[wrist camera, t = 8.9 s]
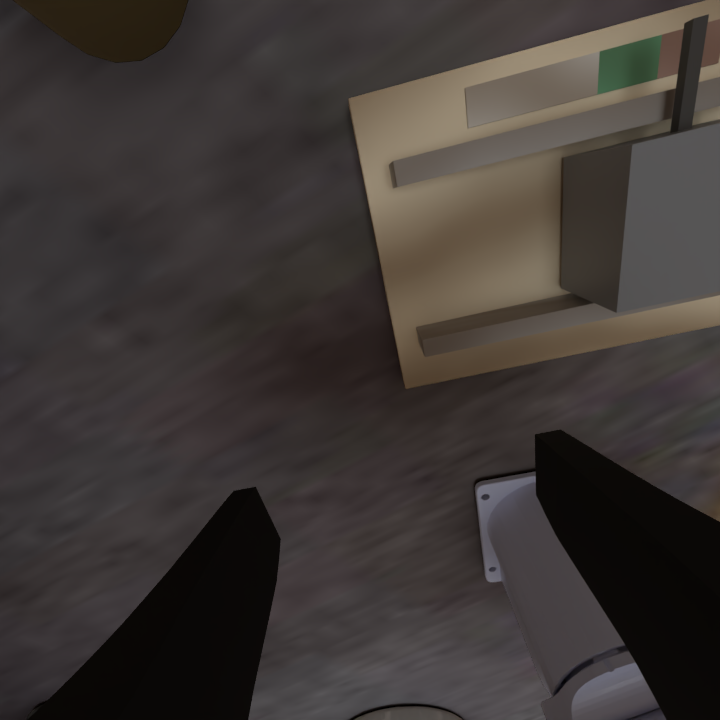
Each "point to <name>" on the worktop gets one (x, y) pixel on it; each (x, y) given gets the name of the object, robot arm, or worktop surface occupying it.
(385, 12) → the worktop surface
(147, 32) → the cork
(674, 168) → the gauge carriage
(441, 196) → the gauge board
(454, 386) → the worktop surface
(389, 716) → the utensil holder
